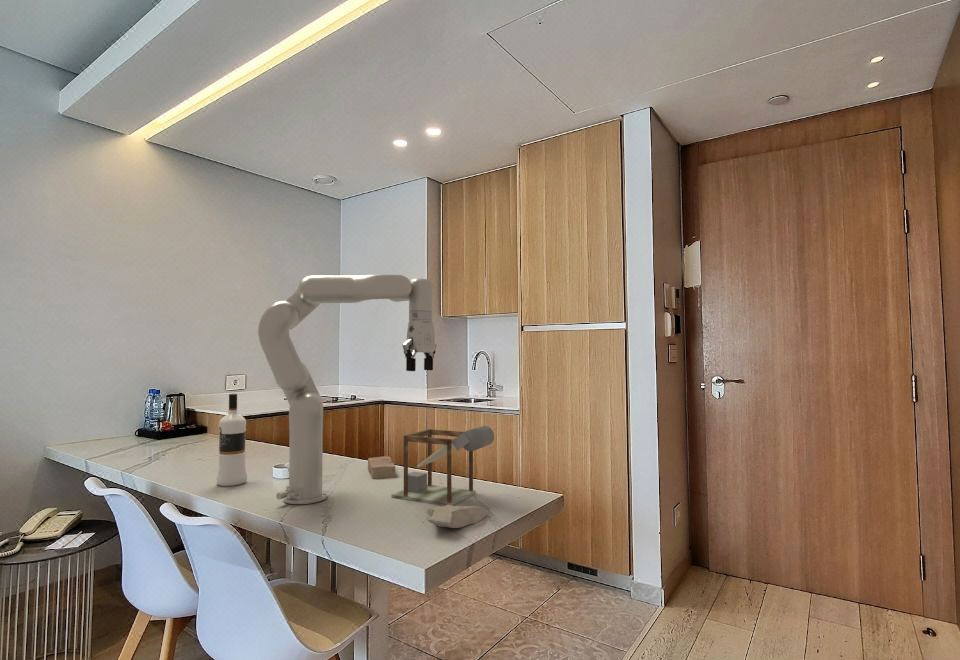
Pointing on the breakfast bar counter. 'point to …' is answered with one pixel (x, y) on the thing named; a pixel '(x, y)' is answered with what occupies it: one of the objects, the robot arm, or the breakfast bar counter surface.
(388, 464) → the brick
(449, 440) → the trapdoor frame
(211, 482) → the breakfast bar counter surface
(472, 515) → the rock
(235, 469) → the vodka
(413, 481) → the stone block
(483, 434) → the trapdoor
